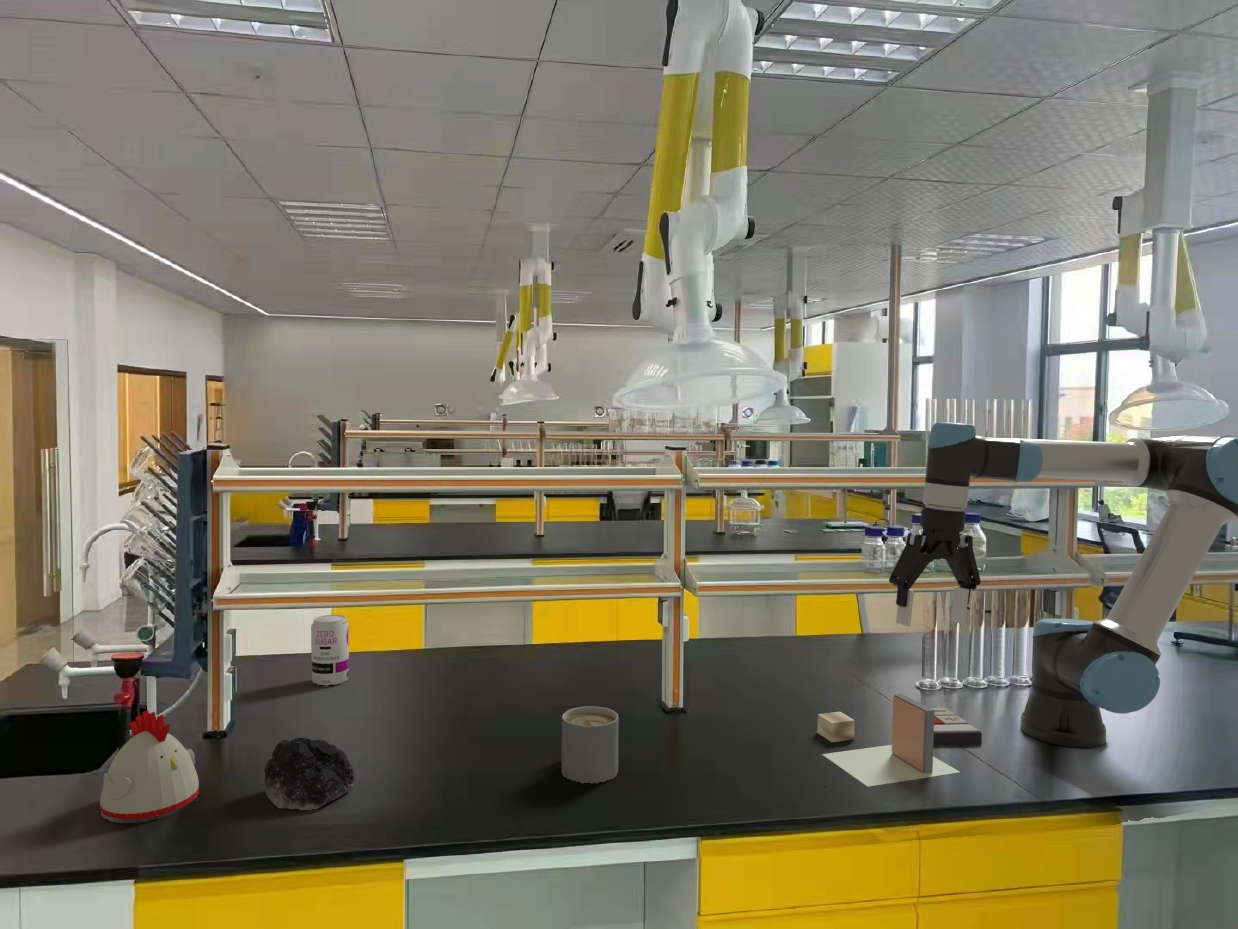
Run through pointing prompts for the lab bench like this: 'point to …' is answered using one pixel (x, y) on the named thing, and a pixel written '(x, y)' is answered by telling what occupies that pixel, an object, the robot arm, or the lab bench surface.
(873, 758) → the board
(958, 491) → the robot arm
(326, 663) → the supplement can
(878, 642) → the lab bench surface
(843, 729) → the block
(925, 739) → the tile
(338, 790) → the crystal cluster
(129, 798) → the white chicken figure
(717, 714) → the lab bench surface
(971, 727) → the calculator
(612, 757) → the coffee mug
